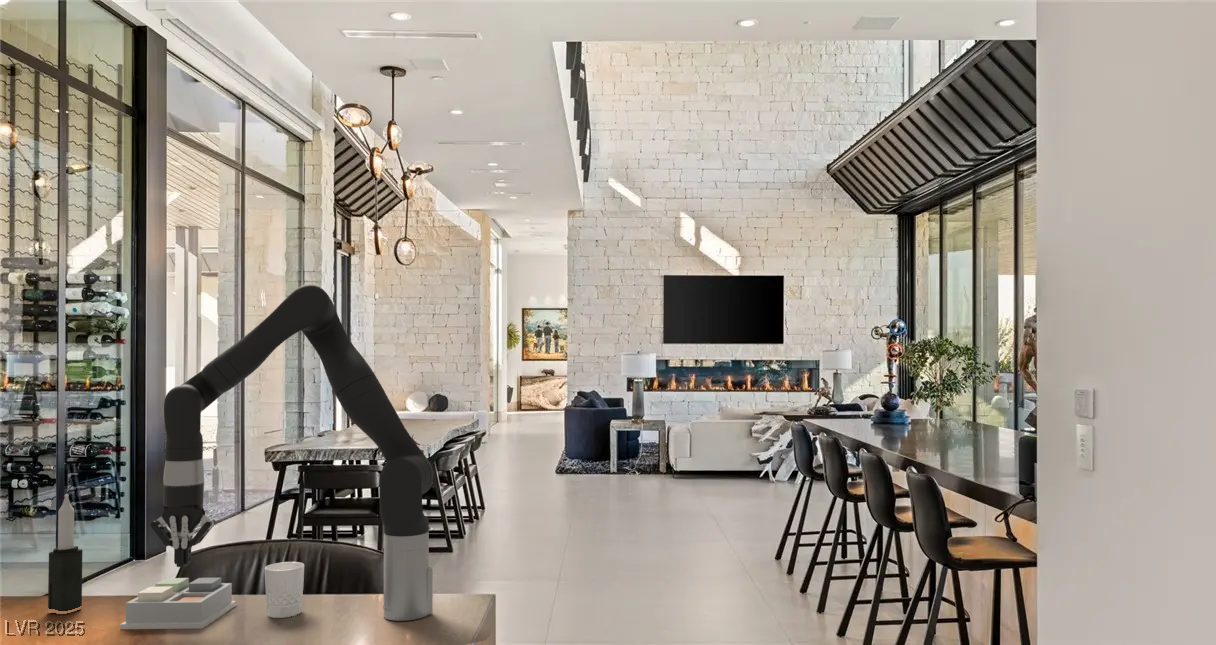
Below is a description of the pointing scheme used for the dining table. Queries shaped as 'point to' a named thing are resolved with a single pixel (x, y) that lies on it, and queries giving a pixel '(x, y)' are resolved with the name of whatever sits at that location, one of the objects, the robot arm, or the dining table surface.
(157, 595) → the key cream
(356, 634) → the dining table surface
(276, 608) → the white cup
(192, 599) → the key terracotta
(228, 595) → the keypad
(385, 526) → the robot arm
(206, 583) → the key slate
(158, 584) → the key sage
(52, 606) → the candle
